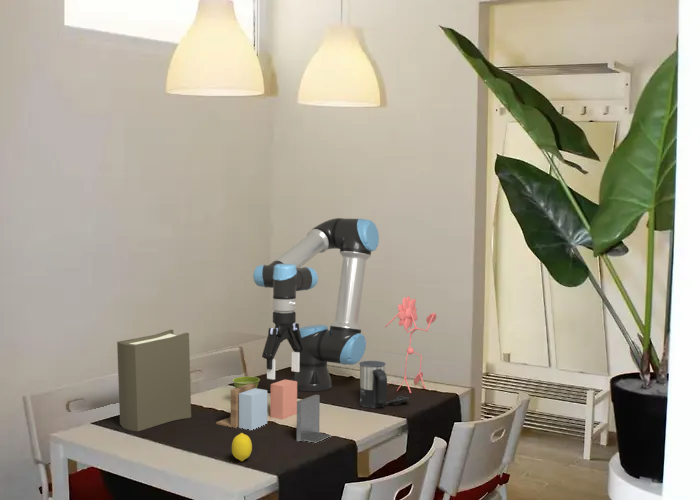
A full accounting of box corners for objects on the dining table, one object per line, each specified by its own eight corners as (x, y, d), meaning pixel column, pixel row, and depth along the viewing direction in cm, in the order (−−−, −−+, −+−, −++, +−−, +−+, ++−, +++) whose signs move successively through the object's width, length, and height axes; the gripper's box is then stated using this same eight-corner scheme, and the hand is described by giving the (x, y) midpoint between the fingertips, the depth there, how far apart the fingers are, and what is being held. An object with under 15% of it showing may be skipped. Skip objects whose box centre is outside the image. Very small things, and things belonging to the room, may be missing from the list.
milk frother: (353, 404, 287) (353, 362, 286) (386, 397, 298) (386, 356, 296) (381, 413, 277) (381, 369, 275) (414, 405, 287) (414, 363, 286)
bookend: (315, 432, 254) (315, 394, 253) (332, 436, 250) (333, 397, 250) (296, 441, 245) (296, 401, 244) (314, 444, 242) (315, 404, 241)
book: (135, 434, 252) (132, 344, 250) (117, 428, 258) (114, 340, 256) (191, 417, 269) (188, 333, 266) (173, 412, 275) (170, 329, 272)
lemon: (228, 463, 225) (228, 434, 225) (237, 457, 231) (237, 429, 230) (245, 465, 223) (245, 437, 223) (255, 459, 229) (255, 431, 228)
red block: (284, 411, 277) (284, 379, 276) (296, 413, 274) (297, 381, 274) (270, 417, 270) (270, 384, 269) (282, 419, 268) (282, 386, 267)
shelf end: (236, 416, 270) (236, 380, 269) (255, 420, 266) (255, 384, 265) (216, 424, 262) (216, 387, 261) (235, 428, 257) (235, 390, 256)
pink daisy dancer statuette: (440, 385, 315) (442, 295, 313) (398, 398, 296) (400, 301, 293) (408, 378, 326) (410, 291, 323) (366, 390, 306) (367, 297, 303)
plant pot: (242, 409, 279) (242, 384, 278) (227, 403, 286) (227, 379, 285) (265, 404, 285) (265, 380, 284) (249, 399, 292) (249, 375, 292)
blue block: (254, 421, 265) (254, 388, 264) (267, 424, 262) (267, 390, 261) (239, 427, 258) (239, 393, 257) (251, 430, 255) (251, 395, 255)
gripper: (270, 316, 257) (269, 383, 258) (315, 307, 278) (314, 369, 280) (251, 314, 261) (250, 380, 262) (296, 306, 282) (296, 367, 284)
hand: (283, 375), depth 271 cm, fingers open, 13 cm apart
